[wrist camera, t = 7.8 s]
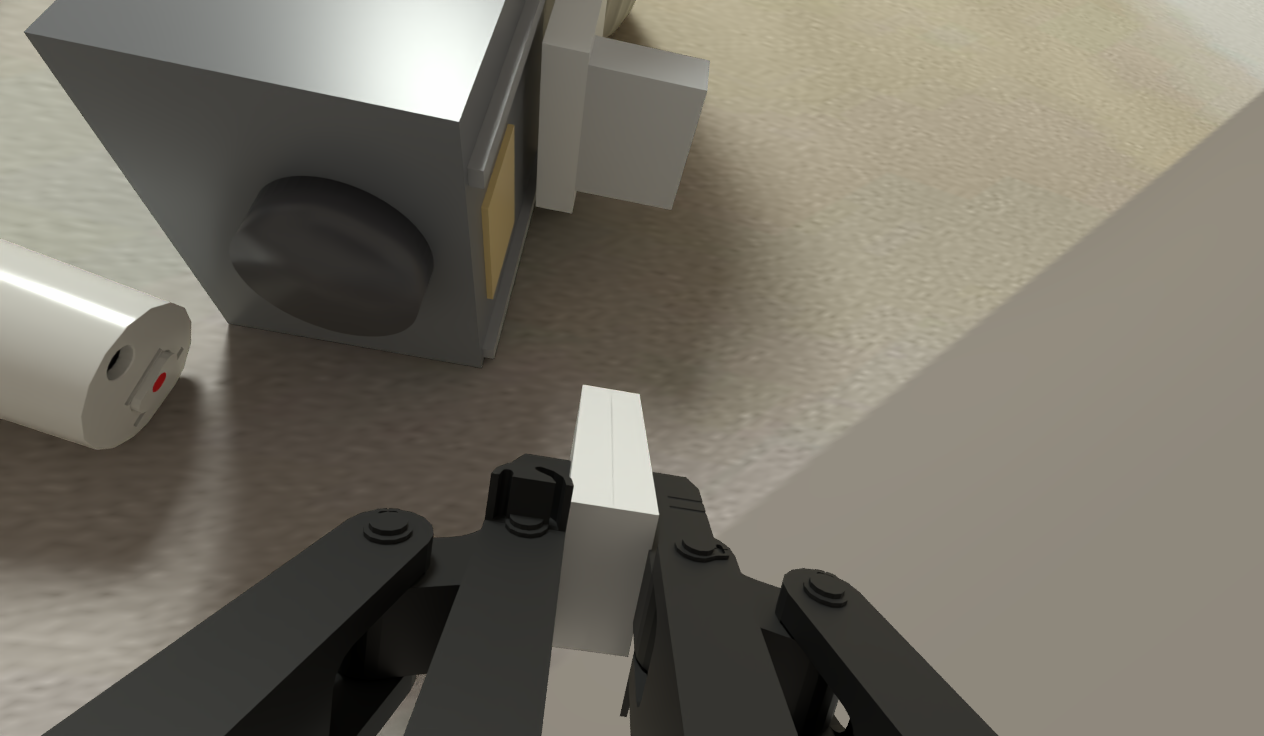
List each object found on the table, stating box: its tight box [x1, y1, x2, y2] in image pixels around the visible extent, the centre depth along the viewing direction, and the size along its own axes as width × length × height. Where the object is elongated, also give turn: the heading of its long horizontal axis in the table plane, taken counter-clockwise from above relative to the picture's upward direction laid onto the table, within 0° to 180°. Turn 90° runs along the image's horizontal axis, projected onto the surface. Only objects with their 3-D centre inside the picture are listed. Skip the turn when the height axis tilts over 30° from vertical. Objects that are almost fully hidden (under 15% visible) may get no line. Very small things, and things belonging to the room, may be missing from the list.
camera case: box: [24, 0, 545, 368], centre depth 20 cm, size 9×13×12 cm
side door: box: [536, 0, 710, 214], centre depth 25 cm, size 5×6×7 cm
